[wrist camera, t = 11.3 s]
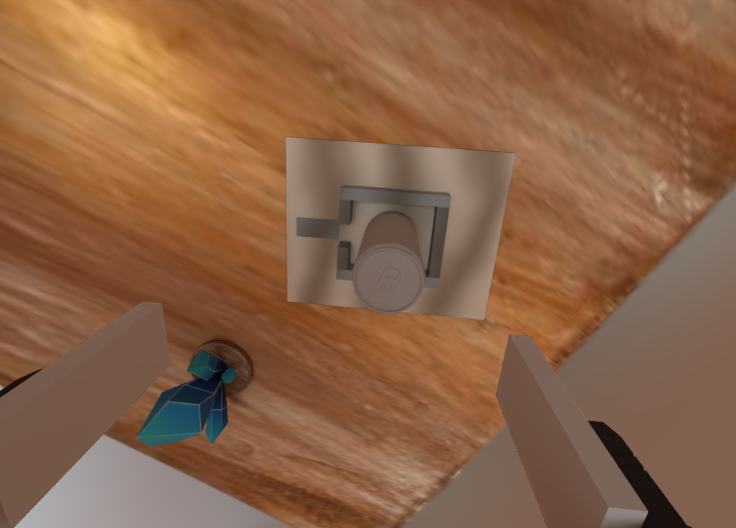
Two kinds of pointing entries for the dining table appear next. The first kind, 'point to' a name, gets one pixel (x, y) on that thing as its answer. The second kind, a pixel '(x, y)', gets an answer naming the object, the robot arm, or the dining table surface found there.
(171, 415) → the gemstone
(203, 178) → the dining table surface
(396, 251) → the beverage can
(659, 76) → the dining table surface
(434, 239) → the holder board
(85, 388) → the robot arm
